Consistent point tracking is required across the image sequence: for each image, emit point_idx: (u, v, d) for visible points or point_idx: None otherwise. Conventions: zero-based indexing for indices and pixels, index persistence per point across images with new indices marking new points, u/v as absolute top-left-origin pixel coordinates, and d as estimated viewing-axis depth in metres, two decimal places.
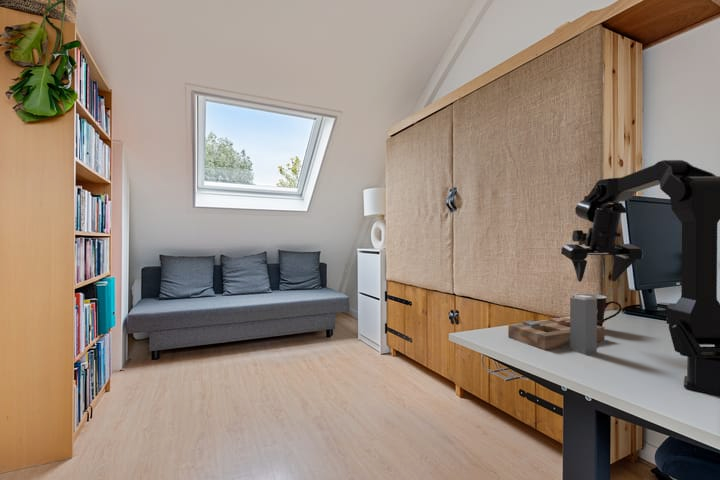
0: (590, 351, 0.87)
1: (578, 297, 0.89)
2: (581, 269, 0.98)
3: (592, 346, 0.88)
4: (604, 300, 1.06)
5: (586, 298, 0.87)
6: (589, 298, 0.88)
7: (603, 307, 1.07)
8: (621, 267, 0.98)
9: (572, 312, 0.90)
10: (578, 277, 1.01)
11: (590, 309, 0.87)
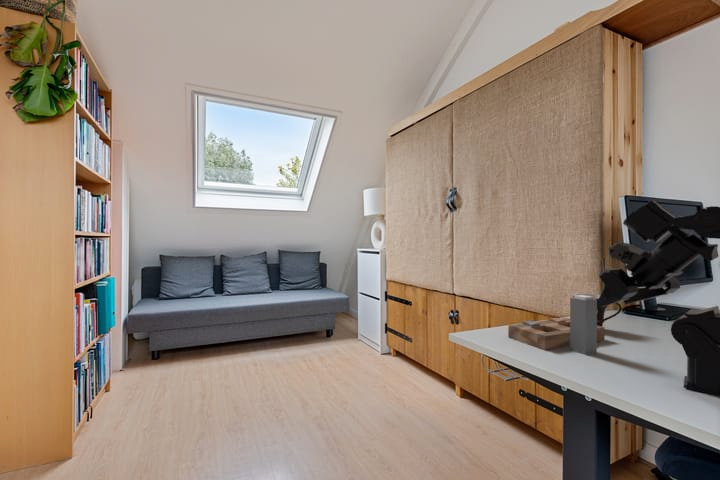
0: (590, 351, 0.87)
1: (578, 297, 0.89)
2: (615, 302, 0.76)
3: (592, 346, 0.88)
4: None
5: (586, 298, 0.87)
6: (589, 298, 0.88)
7: (603, 307, 1.07)
8: (647, 296, 0.80)
9: (572, 312, 0.90)
10: (600, 303, 0.80)
11: (590, 309, 0.87)
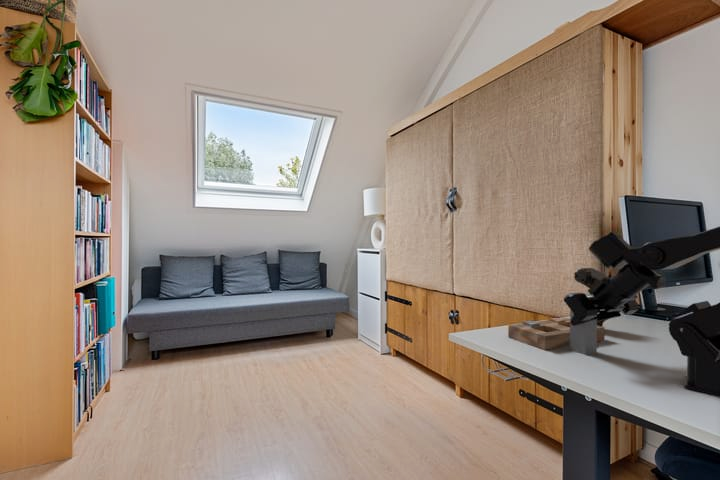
0: (590, 351, 0.87)
1: None
2: (585, 322, 0.85)
3: (592, 346, 0.88)
4: None
5: None
6: None
7: None
8: (603, 318, 0.87)
9: (572, 312, 0.90)
10: (573, 322, 0.89)
11: None
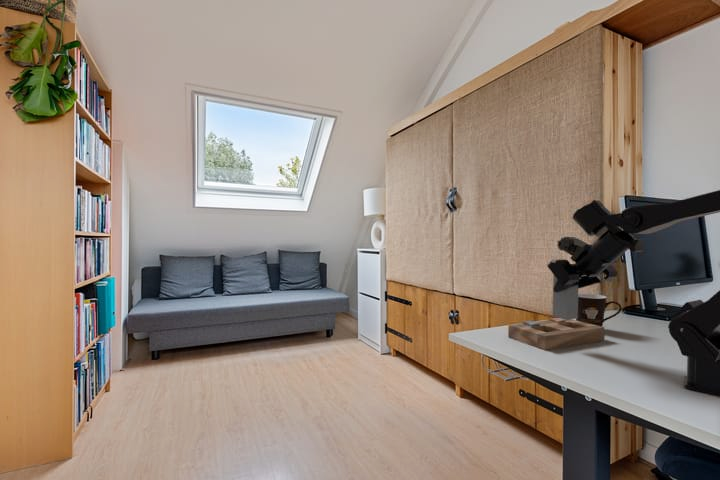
0: (571, 316, 0.91)
1: None
2: (567, 288, 0.88)
3: (573, 312, 0.91)
4: (604, 300, 1.06)
5: None
6: None
7: (603, 307, 1.07)
8: (584, 284, 0.91)
9: (555, 280, 0.93)
10: (556, 289, 0.92)
11: None
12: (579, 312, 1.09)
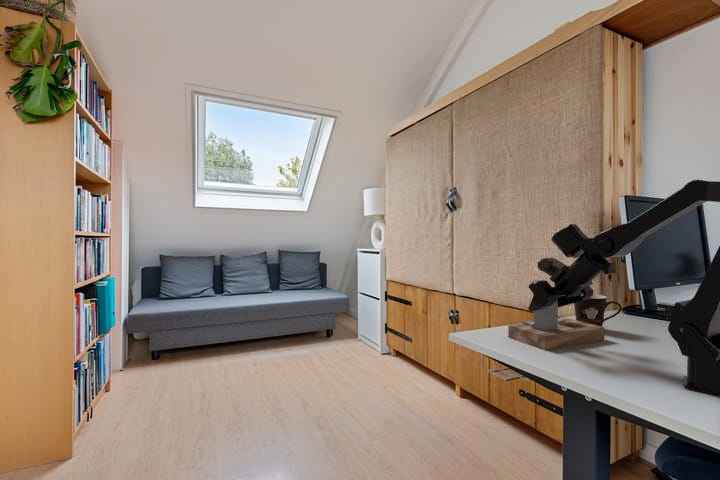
0: None
1: None
2: (541, 308, 0.92)
3: None
4: (604, 300, 1.06)
5: None
6: None
7: (603, 307, 1.07)
8: (568, 302, 0.96)
9: None
10: (531, 308, 0.95)
11: None
12: (579, 312, 1.09)
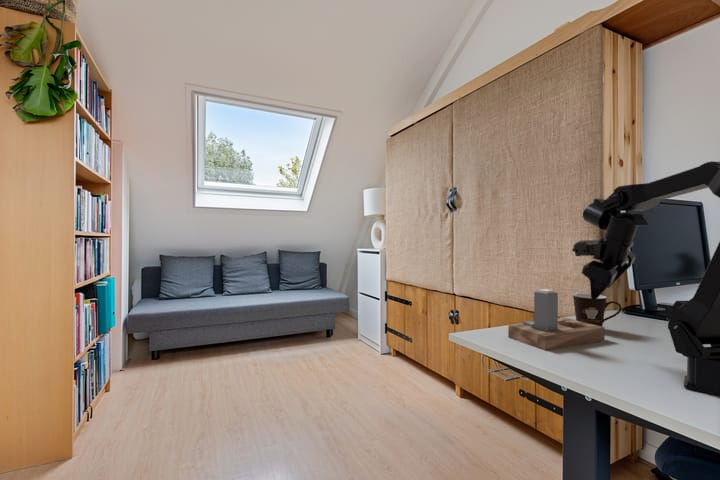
0: None
1: (541, 291, 0.96)
2: (605, 288, 0.87)
3: None
4: (604, 300, 1.06)
5: (548, 292, 0.95)
6: (551, 292, 0.96)
7: (603, 307, 1.07)
8: (620, 274, 0.94)
9: (536, 305, 0.97)
10: (594, 295, 0.90)
11: (552, 302, 0.95)
12: (579, 312, 1.09)
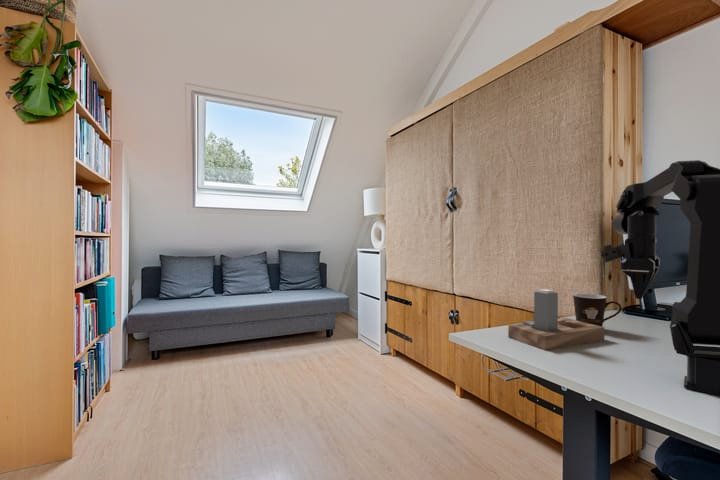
0: None
1: (541, 291, 0.96)
2: (649, 282, 0.86)
3: None
4: (604, 300, 1.06)
5: (548, 292, 0.95)
6: (551, 292, 0.96)
7: (603, 307, 1.07)
8: (652, 276, 0.94)
9: (536, 305, 0.97)
10: (639, 294, 0.88)
11: (552, 302, 0.95)
12: (579, 312, 1.09)
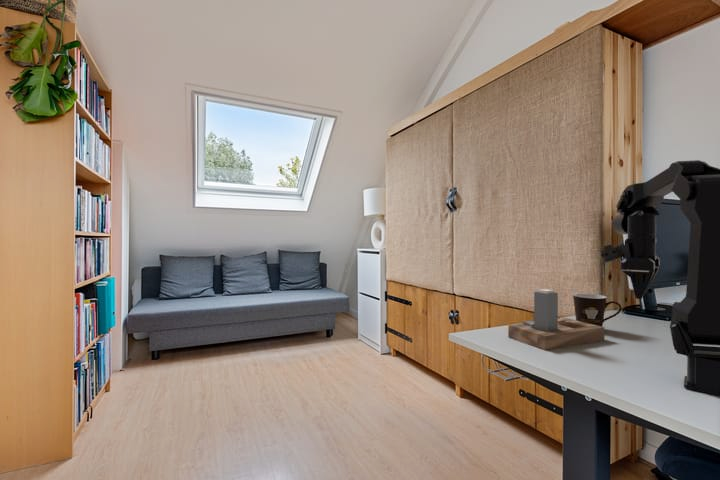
0: None
1: (541, 291, 0.96)
2: (649, 282, 0.86)
3: None
4: (604, 300, 1.06)
5: (548, 292, 0.95)
6: (551, 292, 0.96)
7: (603, 307, 1.07)
8: (652, 276, 0.94)
9: (536, 305, 0.97)
10: (639, 294, 0.88)
11: (552, 302, 0.95)
12: (579, 312, 1.09)
